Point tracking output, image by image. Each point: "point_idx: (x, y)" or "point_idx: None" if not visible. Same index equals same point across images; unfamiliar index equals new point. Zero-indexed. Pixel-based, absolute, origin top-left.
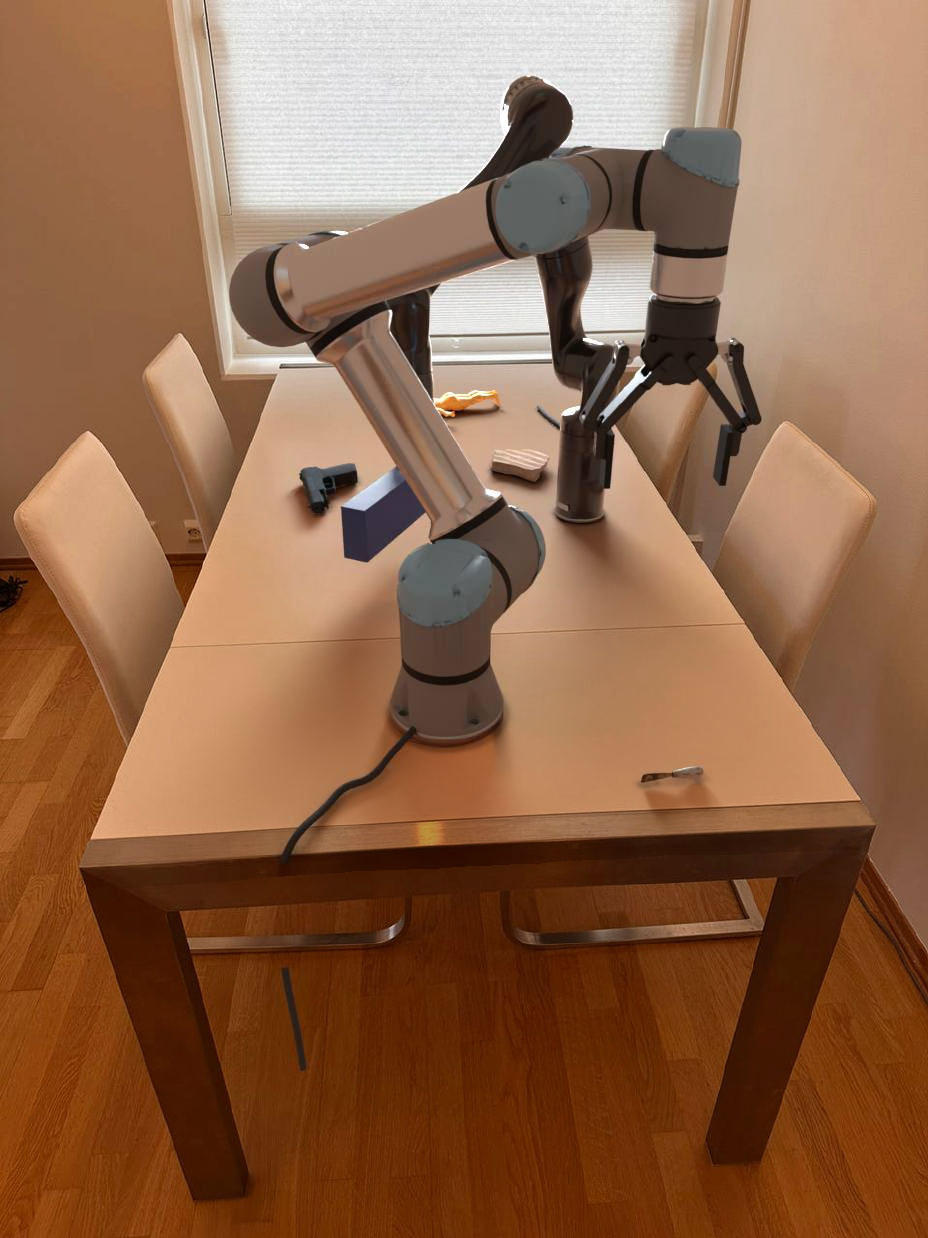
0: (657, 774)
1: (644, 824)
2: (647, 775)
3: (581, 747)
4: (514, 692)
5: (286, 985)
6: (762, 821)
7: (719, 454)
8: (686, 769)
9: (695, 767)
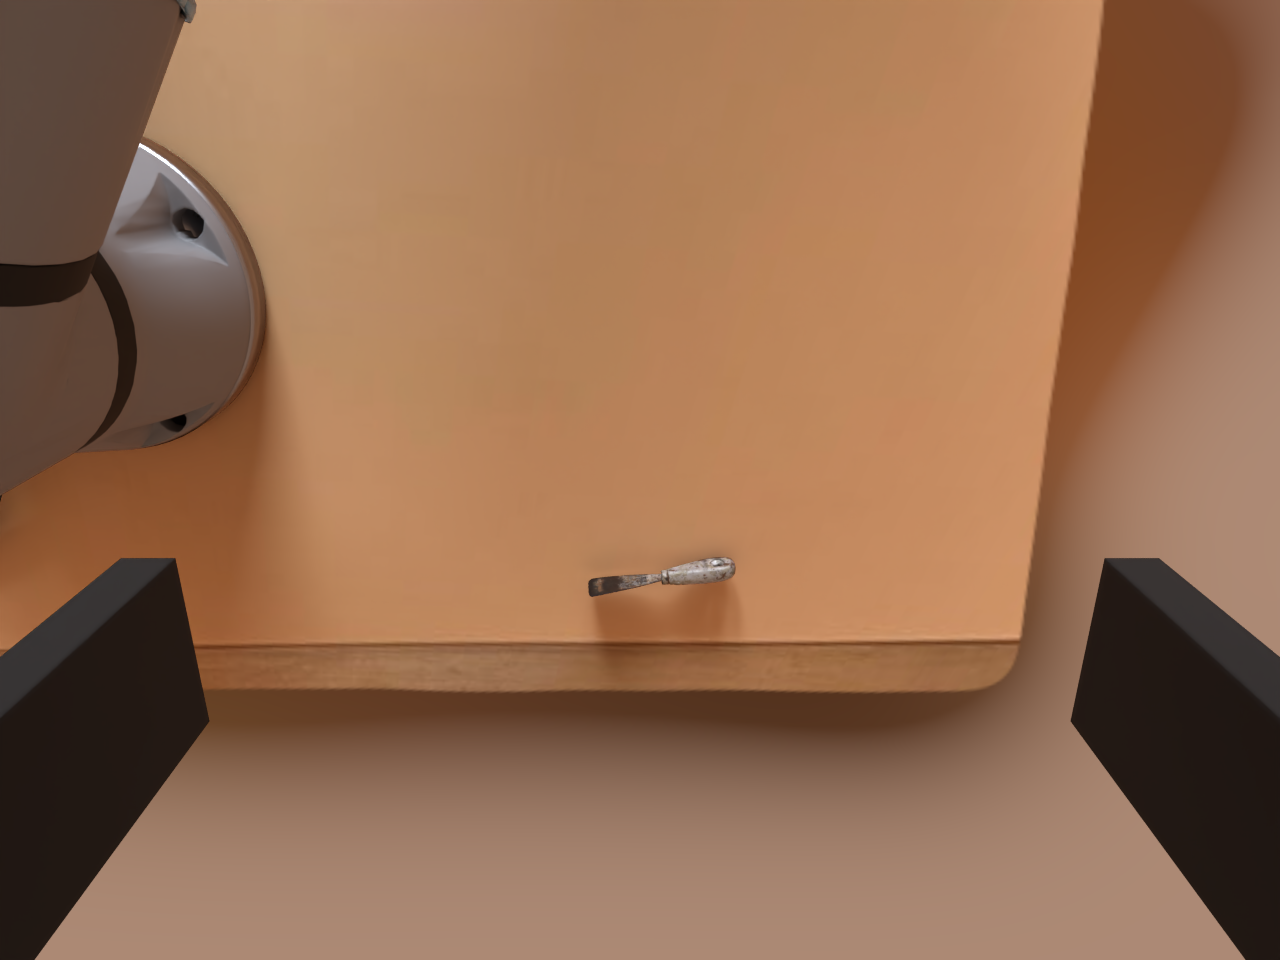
0: (625, 586)
1: (575, 677)
2: (601, 591)
3: (471, 449)
4: (295, 204)
5: None
6: (813, 682)
7: (1230, 783)
8: (694, 579)
9: (716, 574)
